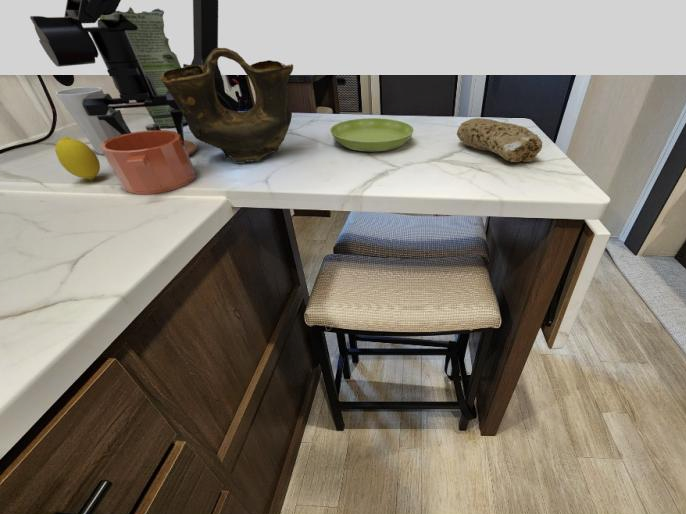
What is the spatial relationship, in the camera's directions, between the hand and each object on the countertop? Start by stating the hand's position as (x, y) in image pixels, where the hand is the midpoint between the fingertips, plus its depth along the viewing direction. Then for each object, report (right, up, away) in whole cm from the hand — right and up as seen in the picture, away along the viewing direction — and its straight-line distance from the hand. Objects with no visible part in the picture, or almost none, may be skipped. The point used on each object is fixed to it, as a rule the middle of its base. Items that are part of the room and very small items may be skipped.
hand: (160, 145), depth 74 cm
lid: (0, -1, +1) cm, 1 cm away
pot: (+7, -11, -9) cm, 16 cm away
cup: (-14, +1, +4) cm, 15 cm away
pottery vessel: (+21, -2, +1) cm, 21 cm away
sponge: (+77, 0, +5) cm, 77 cm away
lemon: (-7, -12, -9) cm, 16 cm away
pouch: (-10, +16, +21) cm, 28 cm away
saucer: (+48, +5, +9) cm, 49 cm away
